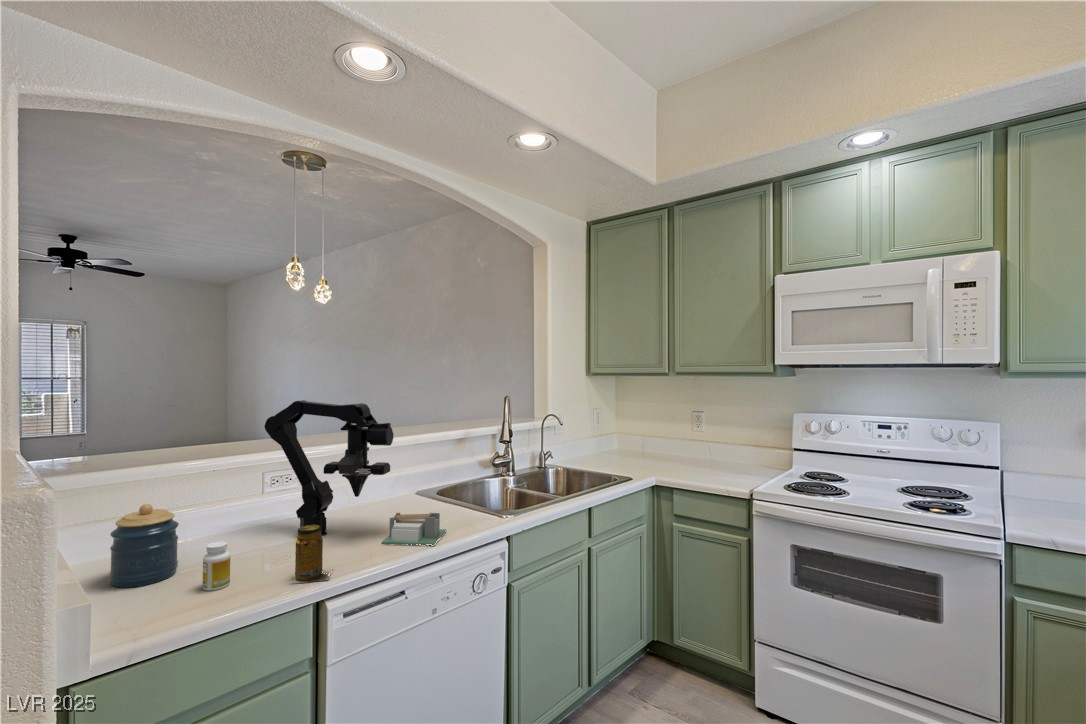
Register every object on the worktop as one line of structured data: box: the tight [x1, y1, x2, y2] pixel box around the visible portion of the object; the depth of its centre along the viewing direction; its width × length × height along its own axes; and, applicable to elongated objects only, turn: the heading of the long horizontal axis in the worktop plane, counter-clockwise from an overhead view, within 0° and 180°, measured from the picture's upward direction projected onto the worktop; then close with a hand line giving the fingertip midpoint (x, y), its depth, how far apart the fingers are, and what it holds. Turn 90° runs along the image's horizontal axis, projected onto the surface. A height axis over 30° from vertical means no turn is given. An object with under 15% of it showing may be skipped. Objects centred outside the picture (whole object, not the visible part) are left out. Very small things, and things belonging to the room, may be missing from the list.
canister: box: [109, 503, 180, 588], centre depth 122 cm, size 13×13×18 cm
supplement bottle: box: [202, 541, 231, 592], centre depth 117 cm, size 5×5×10 cm
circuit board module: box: [381, 512, 447, 546], centre depth 151 cm, size 16×13×7 cm
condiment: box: [289, 525, 334, 585], centre depth 123 cm, size 7×8×12 cm
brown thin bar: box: [393, 513, 432, 521], centre depth 151 cm, size 1×3×12 cm
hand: (357, 496), depth 153 cm, fingers closed
